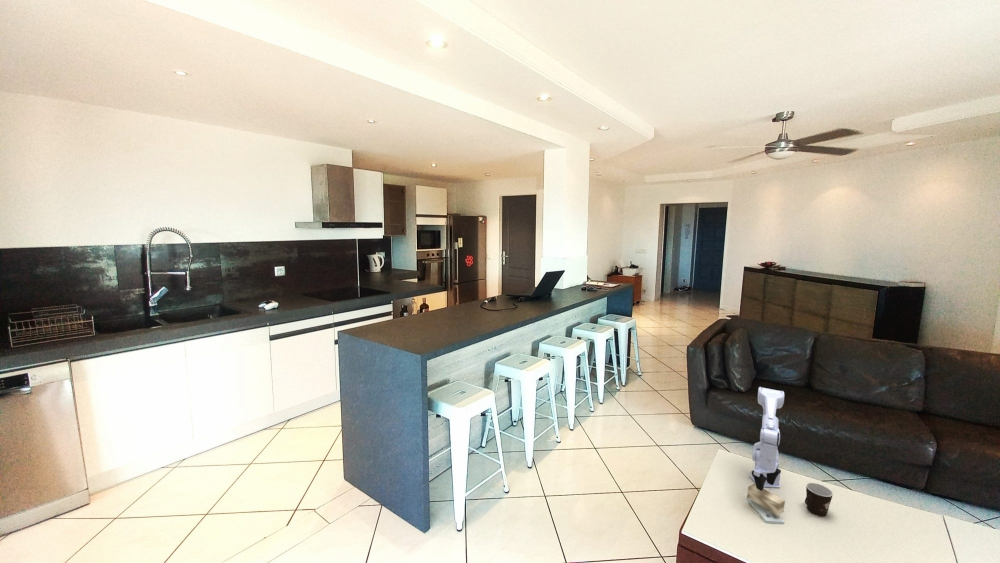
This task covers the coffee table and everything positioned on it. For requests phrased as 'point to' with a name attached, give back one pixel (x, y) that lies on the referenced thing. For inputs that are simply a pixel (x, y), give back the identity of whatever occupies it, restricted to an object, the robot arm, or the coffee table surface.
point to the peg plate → (766, 513)
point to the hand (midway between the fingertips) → (764, 486)
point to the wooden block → (766, 499)
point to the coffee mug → (818, 499)
